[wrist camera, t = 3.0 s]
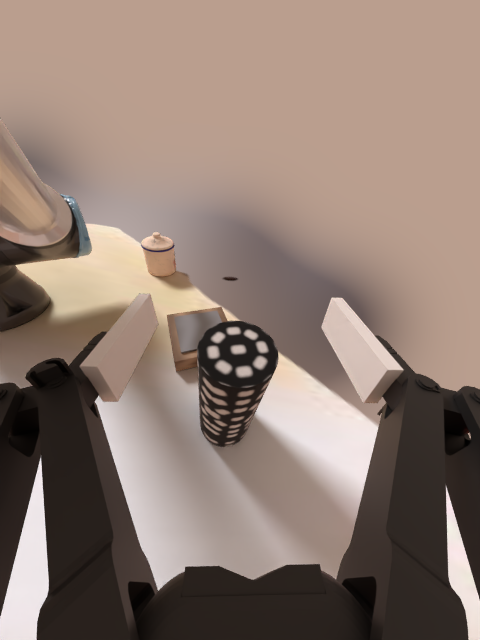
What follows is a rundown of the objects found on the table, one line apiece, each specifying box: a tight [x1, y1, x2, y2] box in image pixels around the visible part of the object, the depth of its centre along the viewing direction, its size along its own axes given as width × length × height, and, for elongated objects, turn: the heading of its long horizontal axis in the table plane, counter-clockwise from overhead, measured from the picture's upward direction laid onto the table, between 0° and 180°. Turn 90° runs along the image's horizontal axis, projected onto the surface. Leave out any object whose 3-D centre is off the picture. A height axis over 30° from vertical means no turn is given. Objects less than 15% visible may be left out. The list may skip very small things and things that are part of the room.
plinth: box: [167, 307, 227, 372], centre depth 44 cm, size 13×13×4 cm
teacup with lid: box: [141, 232, 176, 276], centre depth 61 cm, size 12×9×12 cm
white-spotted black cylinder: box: [197, 321, 278, 447], centre depth 27 cm, size 8×8×20 cm
